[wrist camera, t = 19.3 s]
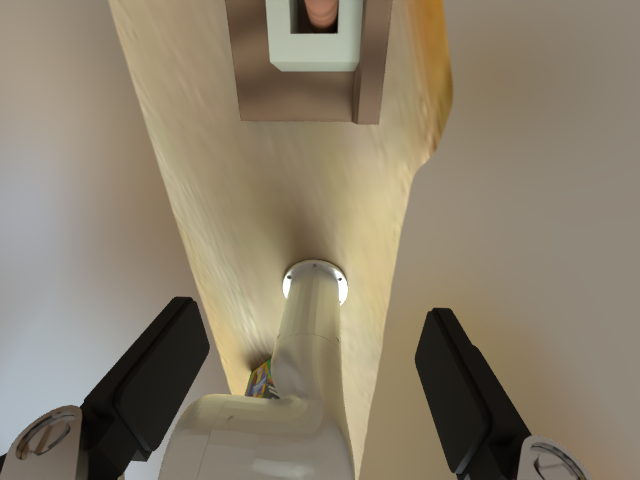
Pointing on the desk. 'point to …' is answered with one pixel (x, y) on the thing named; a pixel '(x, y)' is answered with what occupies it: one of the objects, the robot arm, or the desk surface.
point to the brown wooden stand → (306, 86)
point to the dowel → (323, 15)
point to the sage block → (313, 39)
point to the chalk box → (262, 383)
